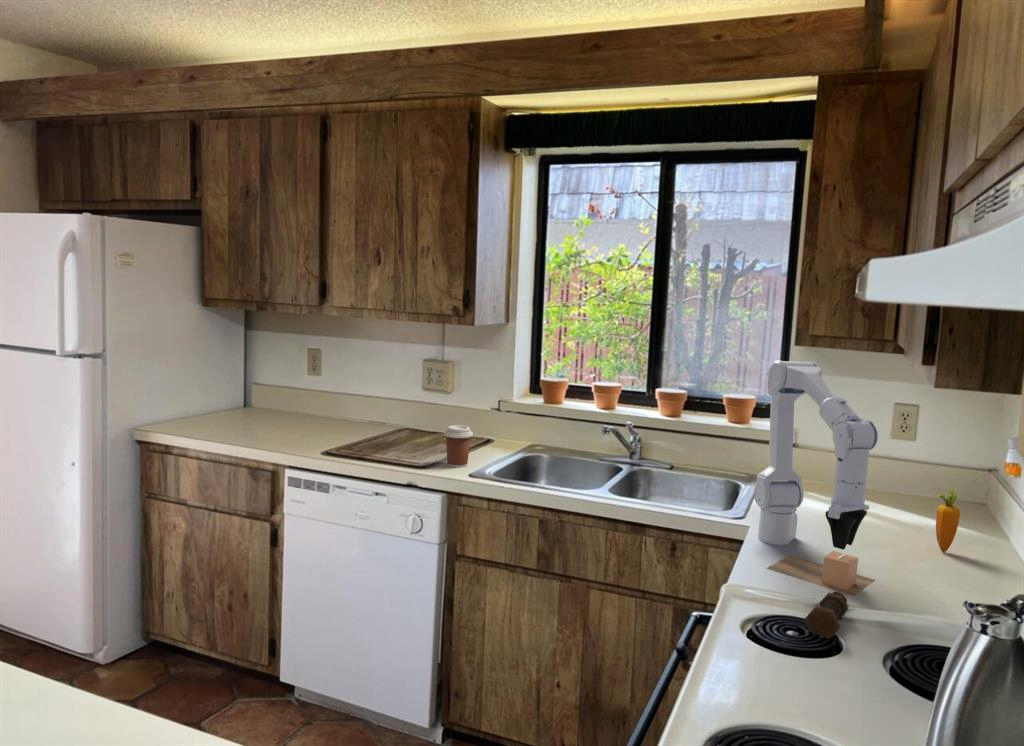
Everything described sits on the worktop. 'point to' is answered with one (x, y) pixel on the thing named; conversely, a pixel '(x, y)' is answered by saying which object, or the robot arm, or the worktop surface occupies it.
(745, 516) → the worktop surface
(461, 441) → the coffee cup
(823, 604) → the bolt
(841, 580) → the salmon orange block
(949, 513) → the carrot
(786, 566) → the board
